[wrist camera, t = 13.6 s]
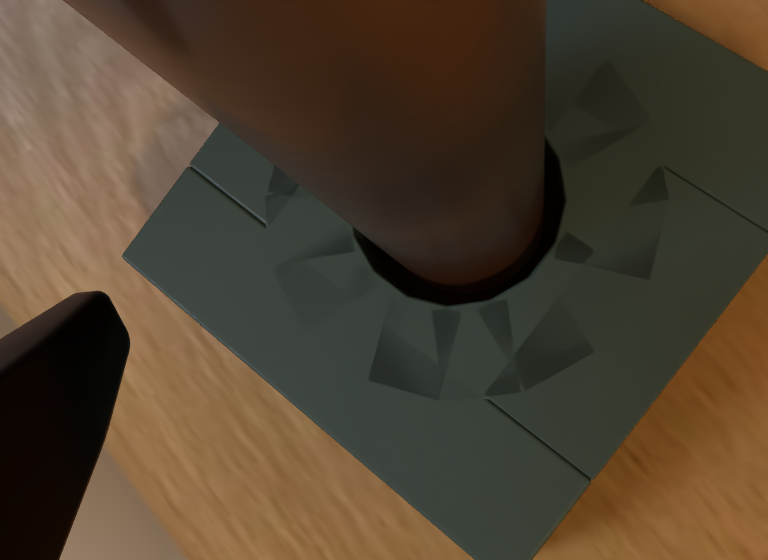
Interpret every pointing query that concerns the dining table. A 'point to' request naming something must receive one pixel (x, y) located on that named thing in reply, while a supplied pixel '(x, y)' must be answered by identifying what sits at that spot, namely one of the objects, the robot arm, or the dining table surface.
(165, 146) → the dining table surface
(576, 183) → the board
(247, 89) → the dowel
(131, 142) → the dining table surface
